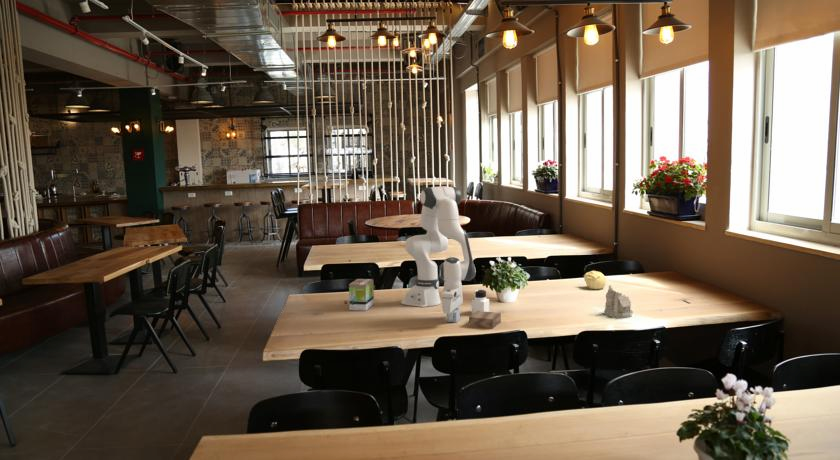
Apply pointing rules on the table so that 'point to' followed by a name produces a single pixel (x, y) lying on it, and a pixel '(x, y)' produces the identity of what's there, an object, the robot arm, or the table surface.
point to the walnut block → (485, 319)
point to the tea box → (361, 294)
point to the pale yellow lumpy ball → (595, 280)
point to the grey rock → (617, 305)
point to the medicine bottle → (480, 302)
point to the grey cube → (454, 316)
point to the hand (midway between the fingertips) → (453, 317)
